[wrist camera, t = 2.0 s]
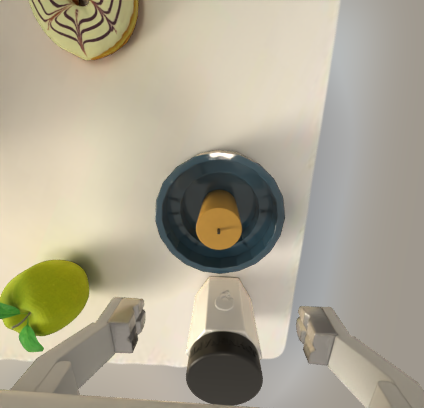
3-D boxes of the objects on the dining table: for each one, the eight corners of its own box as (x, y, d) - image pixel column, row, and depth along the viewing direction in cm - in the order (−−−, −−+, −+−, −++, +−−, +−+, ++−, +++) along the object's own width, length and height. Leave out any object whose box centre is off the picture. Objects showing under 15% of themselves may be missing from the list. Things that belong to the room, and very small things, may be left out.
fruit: (71, 304, 34) (14, 367, 25) (33, 262, 32) (-46, 313, 22) (114, 284, 33) (70, 343, 23) (77, 238, 30) (11, 283, 21)
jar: (252, 276, 31) (271, 355, 20) (248, 317, 34) (263, 409, 22) (195, 274, 31) (180, 350, 20) (195, 315, 34) (182, 404, 22)
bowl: (146, 184, 27) (129, 194, 22) (243, 127, 25) (248, 125, 20) (200, 266, 31) (196, 290, 26) (289, 224, 28) (304, 242, 23)
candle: (196, 199, 27) (185, 224, 19) (226, 183, 26) (228, 202, 18) (212, 227, 28) (209, 261, 20) (242, 212, 27) (251, 241, 19)
